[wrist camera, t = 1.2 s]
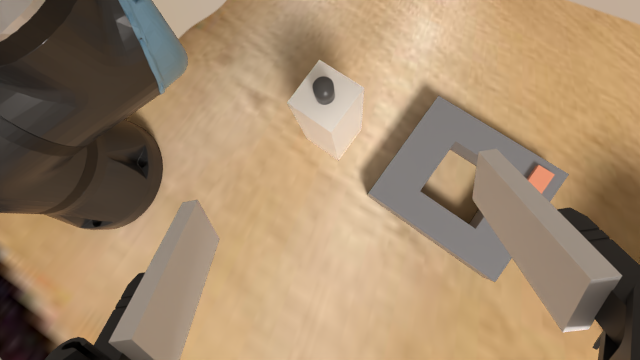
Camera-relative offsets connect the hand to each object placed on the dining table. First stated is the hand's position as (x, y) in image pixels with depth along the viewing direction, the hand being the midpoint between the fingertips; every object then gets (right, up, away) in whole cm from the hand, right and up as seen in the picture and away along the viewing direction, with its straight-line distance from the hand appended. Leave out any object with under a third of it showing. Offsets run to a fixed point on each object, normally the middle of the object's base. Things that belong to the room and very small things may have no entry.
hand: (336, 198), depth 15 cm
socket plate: (+16, 0, +22) cm, 27 cm away
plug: (+1, +7, +25) cm, 26 cm away
